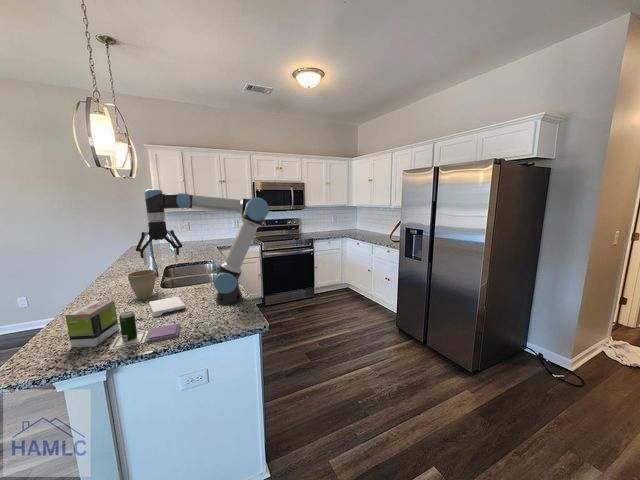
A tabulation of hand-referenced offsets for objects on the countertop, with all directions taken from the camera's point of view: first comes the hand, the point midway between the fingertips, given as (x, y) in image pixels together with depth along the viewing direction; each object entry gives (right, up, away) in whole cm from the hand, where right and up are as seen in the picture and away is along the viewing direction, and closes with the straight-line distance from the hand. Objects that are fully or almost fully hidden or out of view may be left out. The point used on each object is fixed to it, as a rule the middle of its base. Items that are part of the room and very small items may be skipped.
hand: (161, 263), depth 137 cm
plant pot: (-29, -25, +32) cm, 50 cm away
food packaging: (-5, -27, +15) cm, 31 cm away
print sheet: (-2, -32, -20) cm, 37 cm away
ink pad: (+10, -31, -15) cm, 36 cm away
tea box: (-18, -32, -18) cm, 41 cm away
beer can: (-2, -32, -20) cm, 38 cm away
